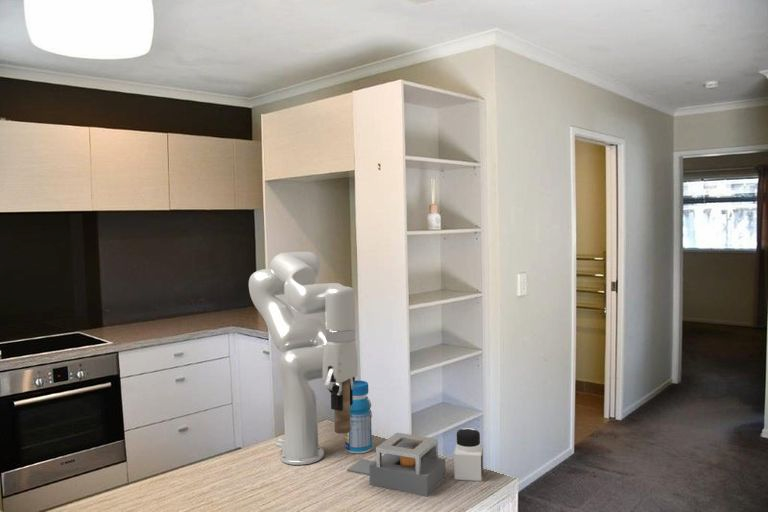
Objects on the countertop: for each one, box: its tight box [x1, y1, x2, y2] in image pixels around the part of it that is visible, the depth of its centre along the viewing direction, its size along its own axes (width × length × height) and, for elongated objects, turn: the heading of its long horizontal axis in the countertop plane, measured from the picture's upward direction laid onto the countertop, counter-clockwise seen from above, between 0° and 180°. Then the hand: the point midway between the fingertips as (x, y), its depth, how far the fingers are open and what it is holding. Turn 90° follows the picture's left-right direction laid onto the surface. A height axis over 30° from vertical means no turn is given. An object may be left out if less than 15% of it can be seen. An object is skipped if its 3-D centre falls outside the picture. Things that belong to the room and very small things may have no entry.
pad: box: [346, 458, 376, 476], centre depth 161 cm, size 8×8×1 cm
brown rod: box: [333, 379, 350, 435], centre depth 149 cm, size 4×4×16 cm
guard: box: [375, 432, 439, 475], centre depth 152 cm, size 12×12×5 cm
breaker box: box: [369, 453, 447, 497], centre depth 152 cm, size 16×12×5 cm
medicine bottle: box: [453, 427, 484, 482], centre depth 155 cm, size 7×7×12 cm
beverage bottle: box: [344, 380, 373, 455], centre depth 175 cm, size 8×8×20 cm
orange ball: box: [400, 447, 416, 468], centre depth 152 cm, size 5×5×6 cm
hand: (342, 406), depth 149 cm, fingers closed on brown rod, 4 cm apart
